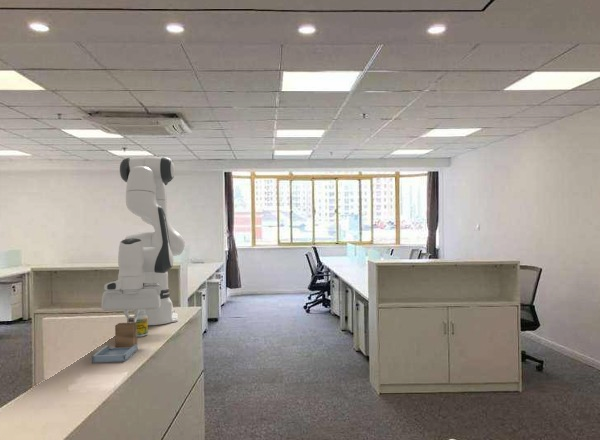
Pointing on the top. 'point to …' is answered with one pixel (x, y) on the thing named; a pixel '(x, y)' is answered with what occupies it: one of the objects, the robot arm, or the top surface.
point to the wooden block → (125, 334)
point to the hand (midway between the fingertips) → (131, 322)
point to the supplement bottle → (142, 324)
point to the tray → (114, 354)
